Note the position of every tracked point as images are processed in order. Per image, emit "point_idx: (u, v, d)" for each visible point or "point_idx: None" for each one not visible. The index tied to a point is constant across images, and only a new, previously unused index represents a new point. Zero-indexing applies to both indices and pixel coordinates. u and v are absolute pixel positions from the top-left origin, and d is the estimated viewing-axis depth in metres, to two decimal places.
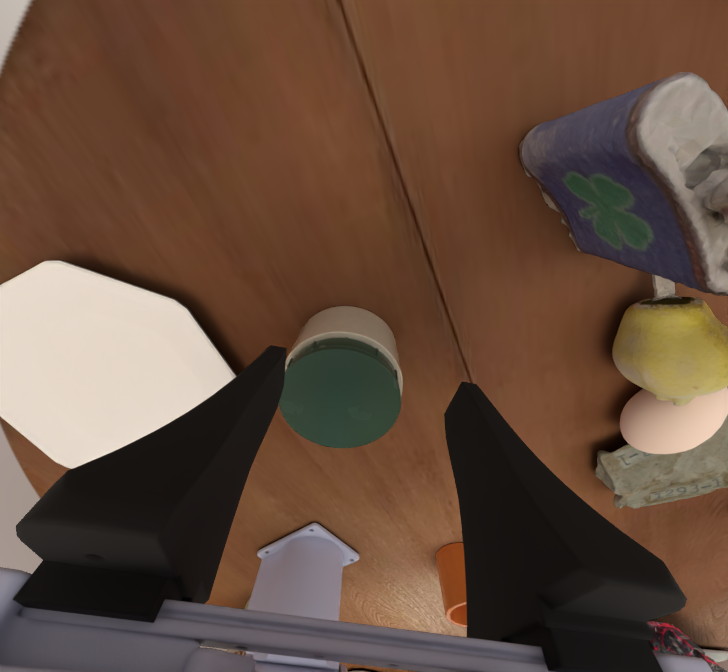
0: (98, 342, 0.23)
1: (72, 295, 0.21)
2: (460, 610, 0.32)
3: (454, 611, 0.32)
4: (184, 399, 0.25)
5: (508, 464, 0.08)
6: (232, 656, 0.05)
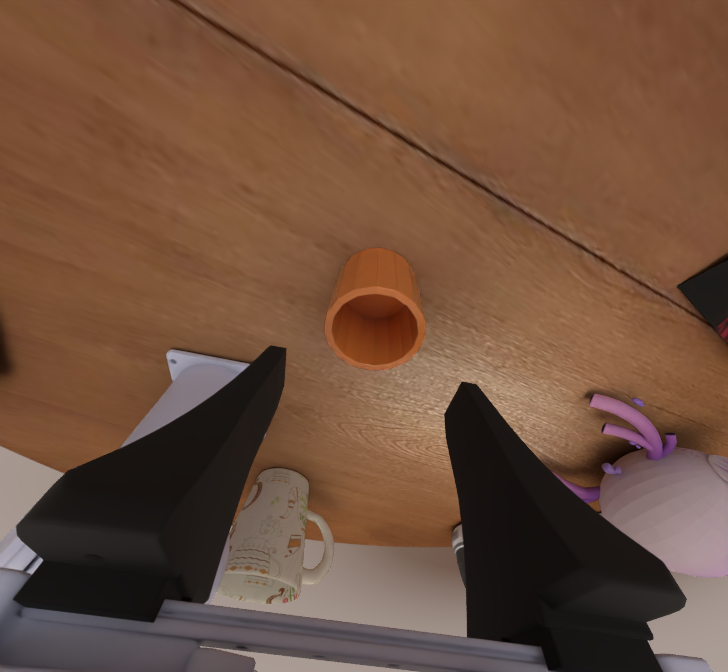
0: None
1: None
2: (390, 349, 0.18)
3: (377, 354, 0.18)
4: None
5: (508, 464, 0.08)
6: (232, 656, 0.05)
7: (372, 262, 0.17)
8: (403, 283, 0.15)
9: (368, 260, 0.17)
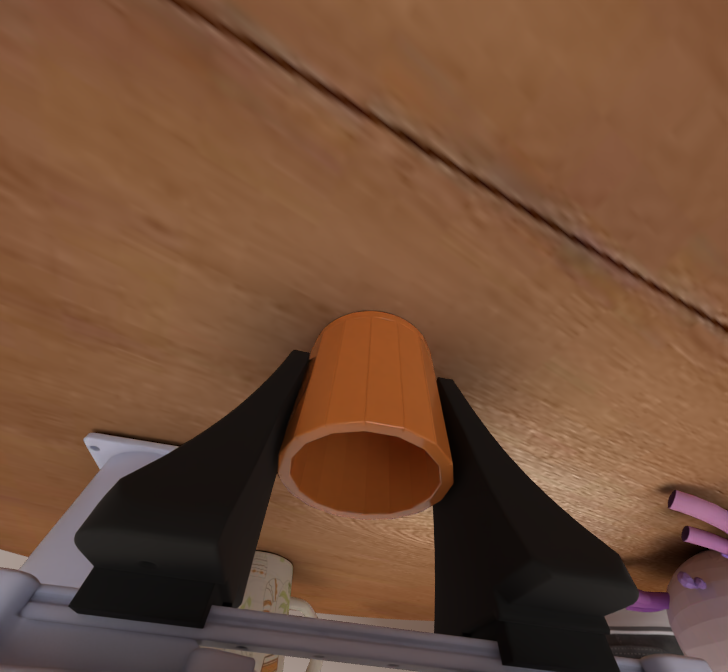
0: None
1: None
2: (392, 478, 0.11)
3: (370, 486, 0.11)
4: None
5: (474, 458, 0.08)
6: (232, 656, 0.05)
7: (361, 347, 0.10)
8: (414, 396, 0.09)
9: (355, 341, 0.10)
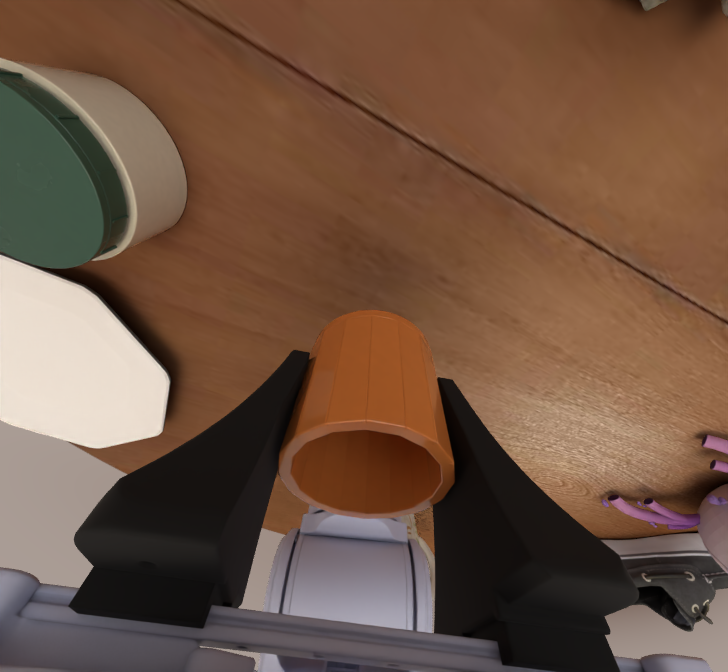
0: None
1: None
2: (393, 477, 0.11)
3: (371, 485, 0.11)
4: (86, 338, 0.24)
5: (474, 458, 0.08)
6: (232, 656, 0.05)
7: (362, 346, 0.10)
8: (415, 395, 0.09)
9: (356, 340, 0.10)
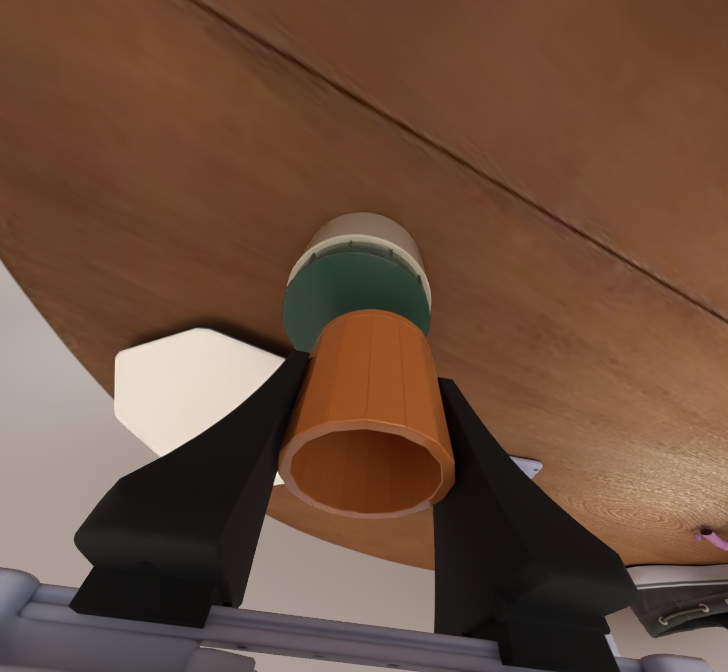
0: (193, 393, 0.27)
1: (149, 370, 0.25)
2: (393, 477, 0.11)
3: (371, 485, 0.11)
4: None
5: (474, 458, 0.08)
6: (232, 656, 0.05)
7: (362, 345, 0.10)
8: (416, 394, 0.09)
9: (356, 339, 0.10)
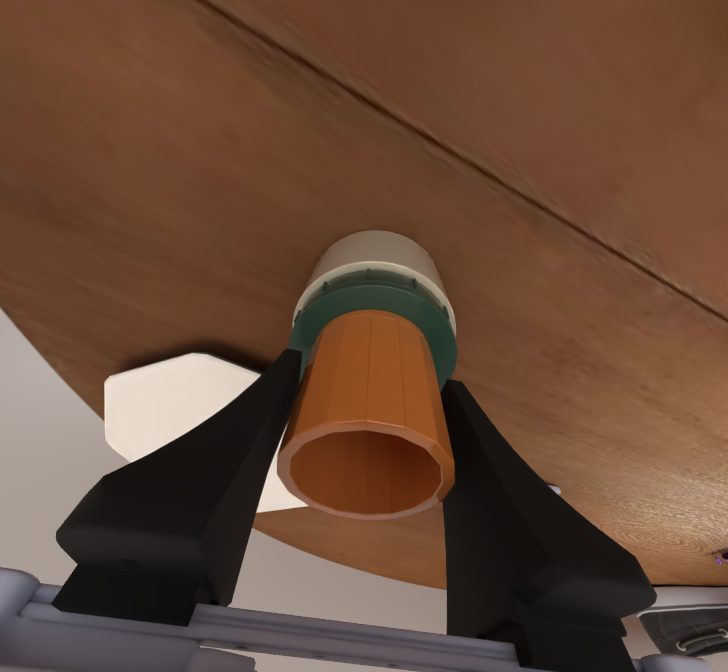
0: (189, 417, 0.25)
1: (141, 395, 0.23)
2: (392, 477, 0.11)
3: (371, 486, 0.11)
4: None
5: (487, 460, 0.08)
6: (232, 656, 0.05)
7: (361, 346, 0.10)
8: (415, 395, 0.09)
9: (355, 339, 0.10)
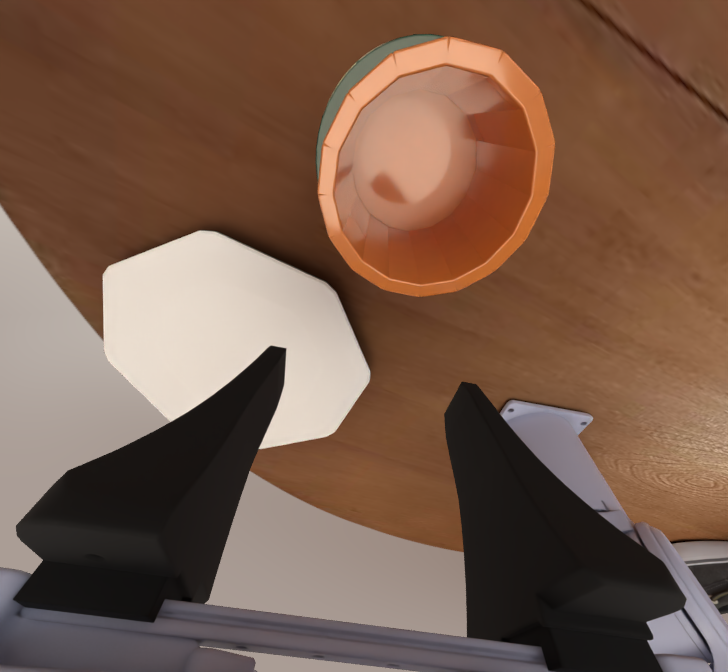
0: (195, 327, 0.23)
1: (143, 294, 0.21)
2: (450, 259, 0.09)
3: (423, 269, 0.09)
4: (292, 337, 0.23)
5: (508, 464, 0.08)
6: (232, 656, 0.05)
7: None
8: None
9: None
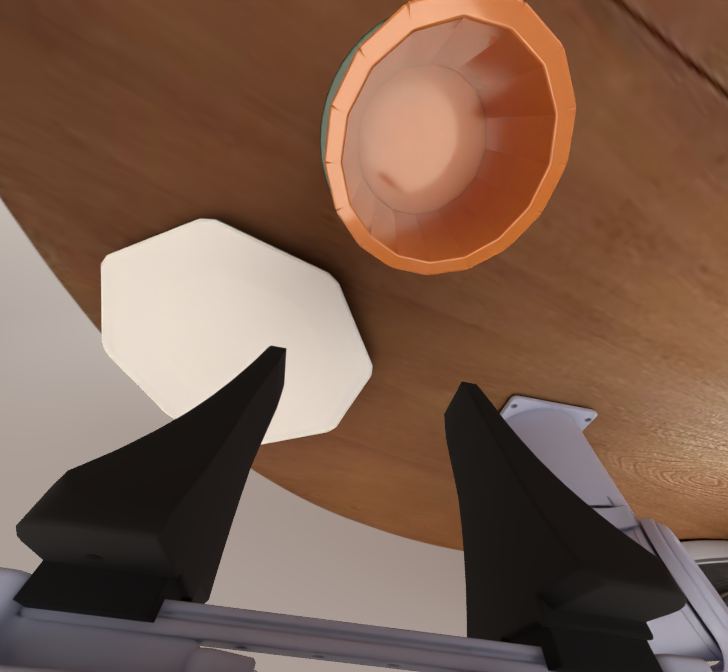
0: (195, 319, 0.23)
1: (142, 284, 0.21)
2: (460, 238, 0.09)
3: (433, 248, 0.09)
4: (293, 329, 0.23)
5: (508, 464, 0.08)
6: (231, 656, 0.05)
7: None
8: None
9: None
